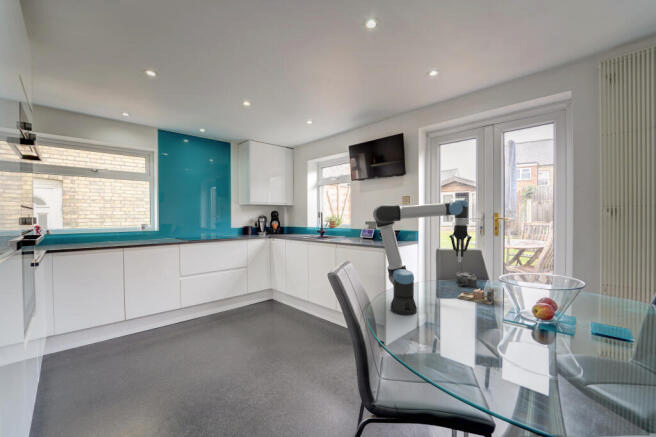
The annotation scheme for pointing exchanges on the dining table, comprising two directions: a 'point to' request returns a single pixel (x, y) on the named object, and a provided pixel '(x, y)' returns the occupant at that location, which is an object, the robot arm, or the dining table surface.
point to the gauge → (478, 294)
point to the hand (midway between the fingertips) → (459, 261)
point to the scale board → (485, 300)
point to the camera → (466, 279)
